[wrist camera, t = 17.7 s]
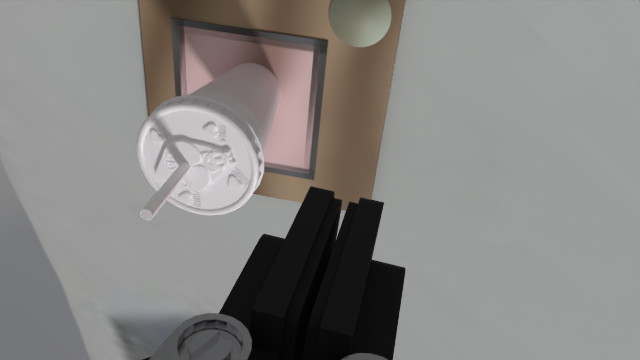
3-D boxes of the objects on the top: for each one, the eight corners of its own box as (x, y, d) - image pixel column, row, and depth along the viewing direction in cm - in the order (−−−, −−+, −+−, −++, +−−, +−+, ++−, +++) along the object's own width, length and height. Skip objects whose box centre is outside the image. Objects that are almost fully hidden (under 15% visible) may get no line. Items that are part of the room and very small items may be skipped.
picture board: (409, -25, 30) (408, -22, 29) (369, 209, 38) (368, 215, 38) (138, -60, 32) (132, -59, 31) (157, 171, 40) (153, 176, 39)
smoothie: (189, 55, 34) (58, 161, 22) (282, 29, 32) (191, 130, 20) (228, 144, 37) (130, 279, 25) (315, 124, 35) (253, 262, 23)
